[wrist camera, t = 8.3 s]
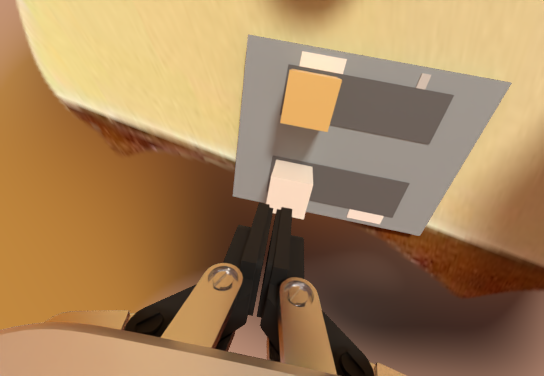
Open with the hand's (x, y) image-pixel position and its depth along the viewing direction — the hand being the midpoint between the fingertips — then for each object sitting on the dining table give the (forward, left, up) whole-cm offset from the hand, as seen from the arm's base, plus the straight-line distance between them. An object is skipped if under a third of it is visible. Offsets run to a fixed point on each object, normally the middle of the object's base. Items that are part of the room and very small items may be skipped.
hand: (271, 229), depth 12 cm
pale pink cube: (-1, +4, -15) cm, 15 cm away
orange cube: (-1, -5, -15) cm, 16 cm away
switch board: (-6, 0, -16) cm, 17 cm away
